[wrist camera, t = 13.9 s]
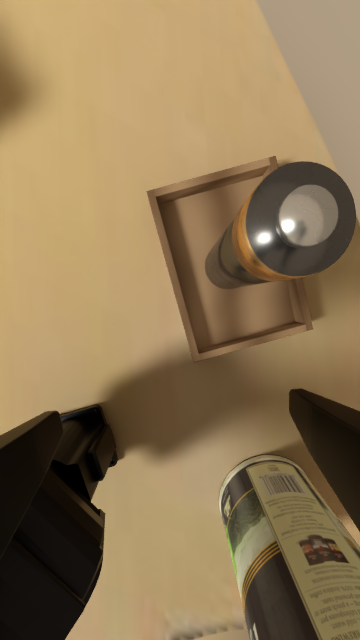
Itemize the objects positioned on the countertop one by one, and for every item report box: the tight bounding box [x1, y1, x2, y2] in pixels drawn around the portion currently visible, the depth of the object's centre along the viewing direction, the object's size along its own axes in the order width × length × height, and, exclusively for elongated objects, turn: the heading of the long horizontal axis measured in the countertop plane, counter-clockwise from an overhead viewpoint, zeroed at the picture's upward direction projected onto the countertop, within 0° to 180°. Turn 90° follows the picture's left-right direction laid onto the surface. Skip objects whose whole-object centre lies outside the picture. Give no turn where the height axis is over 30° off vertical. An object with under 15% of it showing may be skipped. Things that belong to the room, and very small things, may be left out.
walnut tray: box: [147, 156, 313, 362], centre depth 20 cm, size 11×15×2 cm
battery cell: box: [205, 162, 356, 289], centre depth 15 cm, size 4×4×12 cm
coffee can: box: [219, 455, 360, 640], centre depth 17 cm, size 10×10×14 cm
